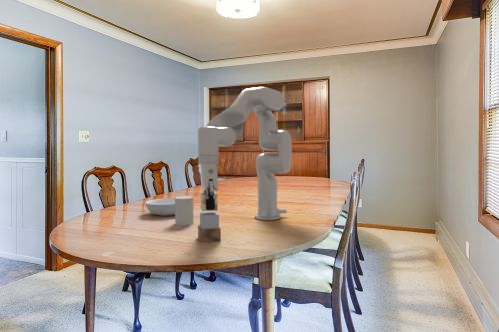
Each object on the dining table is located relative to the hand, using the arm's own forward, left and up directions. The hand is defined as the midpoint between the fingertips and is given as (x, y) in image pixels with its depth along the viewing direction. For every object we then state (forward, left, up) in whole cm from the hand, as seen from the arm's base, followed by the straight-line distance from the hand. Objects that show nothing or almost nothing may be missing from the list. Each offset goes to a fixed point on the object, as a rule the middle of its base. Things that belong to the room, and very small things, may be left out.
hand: (209, 207), depth 121 cm
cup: (+7, -28, -12) cm, 31 cm away
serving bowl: (+14, -52, -12) cm, 55 cm away
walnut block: (0, 0, -12) cm, 12 cm away
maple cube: (0, 0, -1) cm, 1 cm away
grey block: (0, 0, -7) cm, 7 cm away
